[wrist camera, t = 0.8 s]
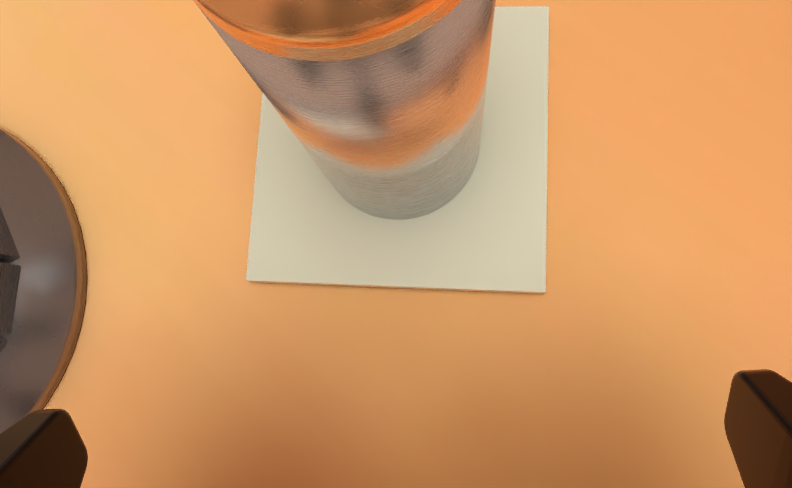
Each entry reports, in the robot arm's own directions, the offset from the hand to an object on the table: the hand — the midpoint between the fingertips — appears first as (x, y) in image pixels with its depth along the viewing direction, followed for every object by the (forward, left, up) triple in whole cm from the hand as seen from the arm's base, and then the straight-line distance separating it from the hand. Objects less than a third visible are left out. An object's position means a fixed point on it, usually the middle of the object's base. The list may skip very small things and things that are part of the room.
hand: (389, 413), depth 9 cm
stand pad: (+8, +1, -13) cm, 15 cm away
